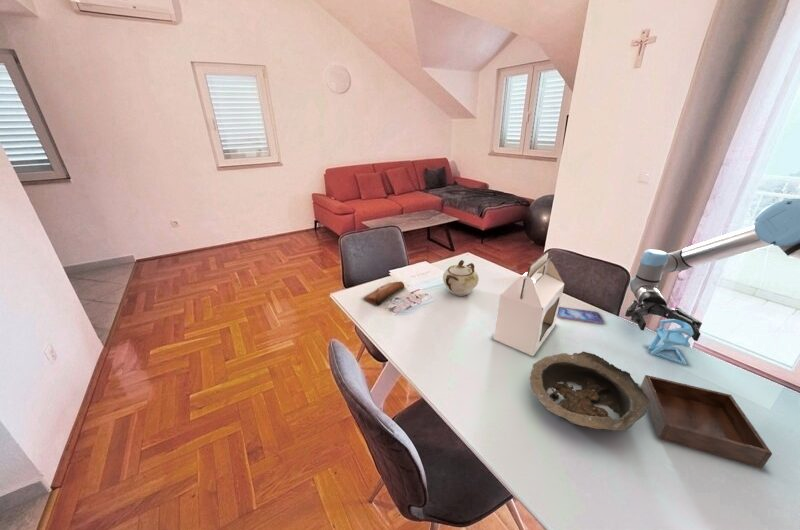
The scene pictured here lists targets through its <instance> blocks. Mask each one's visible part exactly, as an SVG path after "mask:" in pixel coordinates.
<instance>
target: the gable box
mask: <svg viewBox="0 0 800 530" xmlns="http://www.w3.org/2000/svg"><path fill="white" fill-rule="evenodd" d="M552 258H553V255H551V256H550V257H549V252H548V251H546V252H544V253H543V254H542V255H541V256H540V257H538V258H537V259H536V260H535V261H533V262H532V264H530V265H529V266H528V269H527V271H526V272H524V274H522V275H521V276H519V277H518V278H517V279H515V281H513V283H512V284H510V286H508V287H507V288H506V289H505V290H504V291H502V292H501V293H500V294H499V299H498V307H497V313H496V318H495V319H496V320H495V325H494V333H493V340H495V341H497V342H499V343H501V344H503V345H506V346H509V347H510V348H513V349H515V350H518V351H520V352H522V353H524V354H527V355H529V356H531V357H534V356H535V354H536V353H537V352H538V350H539V349H540V347H541V346H542V344H543V343H544V342H545V341H546V339H547V337H548V336H549V334H550V333H551V332H552V331H553V329H554V327H555V326H556V322H557V318H558V309H559V307H560V304H561V300H562V296H563V292H564V289H565V283H564V281H563V279H562V277H561V275H560V273H559V271H558V269H557V267H556V265H555V264H554V262H553V260H551V259H552ZM543 323H546V324H549V325H550V326H549V327H547V328H546V330H545V331H544V333H543V335H542V330H543Z"/></svg>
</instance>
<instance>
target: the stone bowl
mask: <svg viewBox="0 0 800 530" xmlns="http://www.w3.org/2000/svg"><path fill="white" fill-rule="evenodd" d="M529 383H530V387H531V391H532V393H533V394H534V395H535V397H536V398H537V399H538V400H539V402H540V403H541V404H542V405H543V406H544V408H545V409H546V410H547V411H549V412H551V413H552V414H554V415H556V416H559V417H560V418H562V419H564V420H565V421H568V422H570V423H571V424H574V425H578V426H582V427H586V428H591V429H595V430H596V429H597V430H608V431H609V430H610V431H614V432H616V431H622V432H626V431H627V430H629V429H630V428H632V427H633V425H634V424H635V423H636V422H637V421H639V420H640V419H642V418H643V417H645V415H646V413H647V407H646V404H648V403H650V402H649V401H650V400H649V398H648V397H647V396H646V395H645V394H644V393H643V390H642V389H641V388H640V387H639V383H637V382H635V380H634V378H633V377H632V376H631V373H630V372H629V371H626V370H622V369H621V368H618V367H617V366H615V365H614V364H612V363H610V362H608V361H607V360H606V359H604V358H603V357H600V356H599V355H597V354H595V353H592V352H591V353H590V352H587V351H581V352H579V353H578V352H574V353H572V354H568V353H566V352H565V353H564V352H562V353H559V354H553V355H548V356H544V357H542V358H541V359H539V360H537V361H536V362H535V363H533V364H532V368H531V371H530V376H529ZM568 383H574V384H576V385H578V386H580V387H581V389H575V387H574V386H573V385H572V384H571V386H569V384H568ZM549 389H551V391H552V393H551V394H549V393H548V390H549ZM574 389H575V390H574ZM560 396H562V397H563V399H560V401H559V402H558V403H556V401H558V400H559V398H560ZM598 405H600V406H605V407H608V408H609V409H610V410H612V412H613V413H617V414H618V415H619V417H618V418H612V417H611V416H610V414H609V412H608V410H606V409H605V408H603V407H599V406H598Z"/></svg>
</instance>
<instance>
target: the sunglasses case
mask: <svg viewBox="0 0 800 530" xmlns="http://www.w3.org/2000/svg"><path fill="white" fill-rule="evenodd" d="M404 289H405V283H404V281H394V282H390V283H387V284H384V285H381V286H379V287H378V288H377V289H375V290H374V291H372V292H370V293H369V294H367V295H366V296H365V297H364V298H363V300H365V301H366V302H367V303H369V304H372V305H373V306H377V305H379V304H381V303H382V302H384V301H385V300H387V299H388V298H390V297H391V296H393V295H395V294H397V293H398V292H400V291H401V290H404Z"/></svg>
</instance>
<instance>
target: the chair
mask: <svg viewBox="0 0 800 530" xmlns="http://www.w3.org/2000/svg"><path fill="white" fill-rule="evenodd" d="M668 323H669V324H671V323H673V324H676V325H678V326H680V327H675V328H667V329H665V324H668ZM655 332H656V336H655V337H654V339H653V340H652V342H651V343H650V345H649V346H648V348H647V349H648V350H651V351H650V354H651V355H654V356H658V357H660V358H663V359H666V360H669V361H672V362H675V363H678V364H681V365H685V366H687V364H688V363H687V361H686V360H685V358H684V356H683V355H682V353H681V352H680V350H679V349H678V348H677V347H675V346H680V347H687V348H690V347H691V343H690V342H689V340H690V339H691V338H692V336H693V334H694V333H693V329H692V327H691V326H690V325H689V324H688V323H685V322H683V321H680V320H676V319H660V327H659V328H658V327H656V329H655ZM684 335H686V336H684ZM660 341H662V344H661V345H660V346H657V345H658V344H659V342H660ZM661 351H675V353H676V354H677V356H678V357H679V359H677V358H674V357H672V356H669V355H665V354H663V353H662V352H661ZM660 352H661V353H660Z"/></svg>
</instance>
